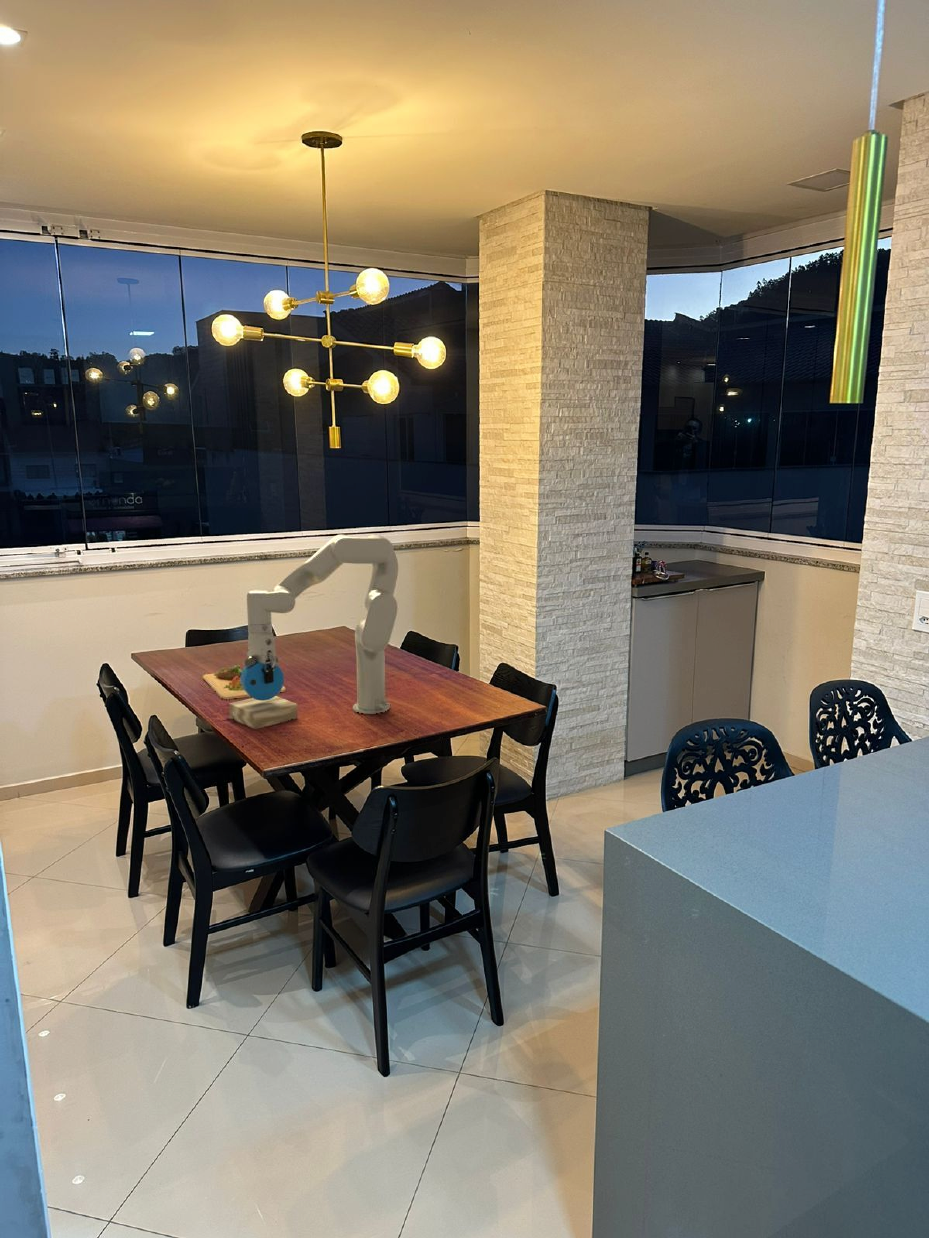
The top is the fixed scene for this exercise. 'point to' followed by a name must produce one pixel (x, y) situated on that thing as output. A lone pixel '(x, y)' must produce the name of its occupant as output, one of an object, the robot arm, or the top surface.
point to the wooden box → (263, 711)
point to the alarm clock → (260, 680)
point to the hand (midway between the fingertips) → (262, 680)
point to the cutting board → (228, 683)
